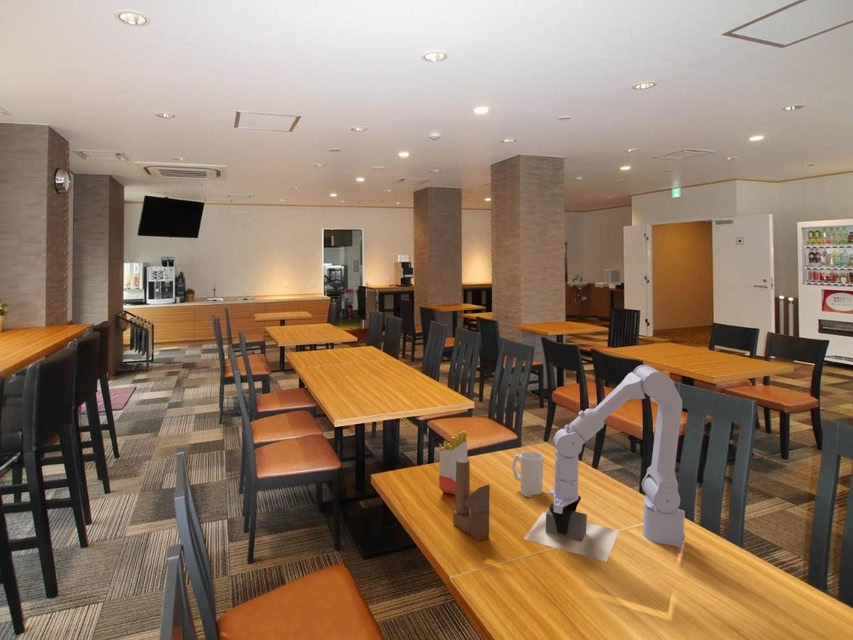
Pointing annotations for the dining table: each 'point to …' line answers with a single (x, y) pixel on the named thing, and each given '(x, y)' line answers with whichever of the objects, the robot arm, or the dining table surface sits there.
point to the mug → (529, 472)
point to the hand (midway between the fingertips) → (564, 528)
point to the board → (592, 545)
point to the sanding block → (569, 526)
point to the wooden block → (471, 504)
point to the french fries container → (451, 462)
